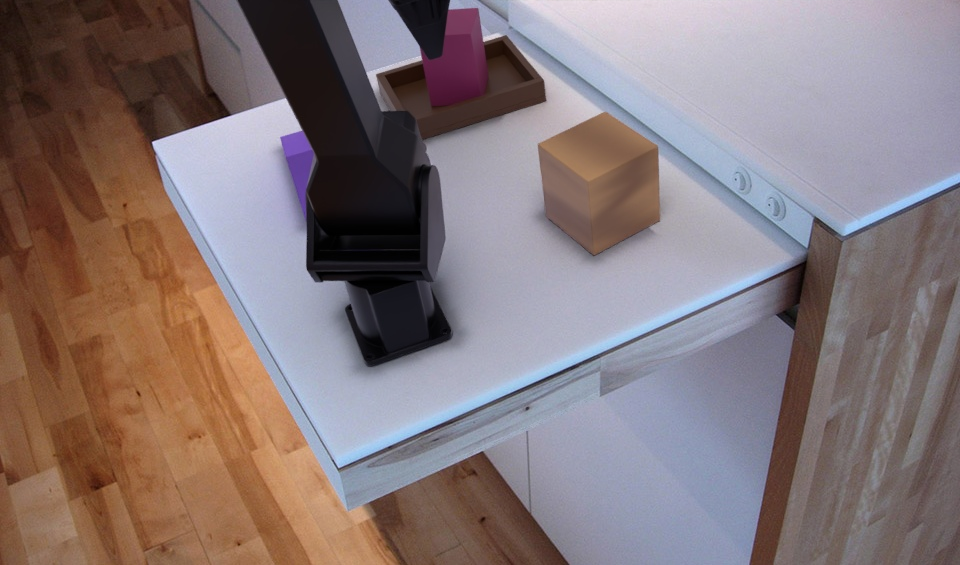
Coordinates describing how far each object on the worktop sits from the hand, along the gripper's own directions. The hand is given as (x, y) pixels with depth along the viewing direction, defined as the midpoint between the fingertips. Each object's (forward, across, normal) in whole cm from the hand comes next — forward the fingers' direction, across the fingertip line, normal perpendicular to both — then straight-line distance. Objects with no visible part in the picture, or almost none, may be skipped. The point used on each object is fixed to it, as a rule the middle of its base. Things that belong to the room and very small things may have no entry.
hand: (417, 32), depth 80 cm
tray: (+13, +10, -5) cm, 17 cm away
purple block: (+13, +4, +9) cm, 16 cm away
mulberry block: (+12, +10, -5) cm, 17 cm away
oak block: (+13, -13, -9) cm, 20 cm away
